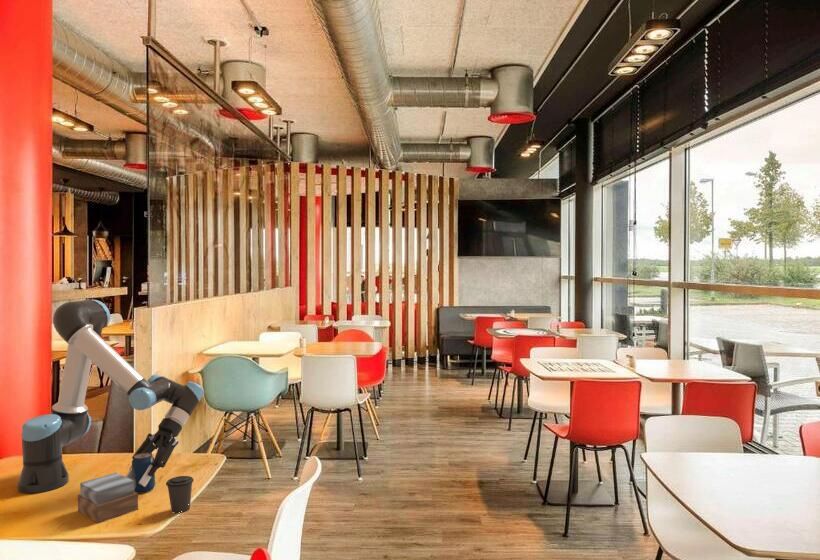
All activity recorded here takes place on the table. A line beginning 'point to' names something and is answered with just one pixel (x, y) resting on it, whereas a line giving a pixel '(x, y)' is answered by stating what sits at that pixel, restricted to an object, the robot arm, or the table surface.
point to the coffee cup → (180, 493)
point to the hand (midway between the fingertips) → (134, 482)
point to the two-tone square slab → (107, 497)
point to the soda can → (142, 471)
